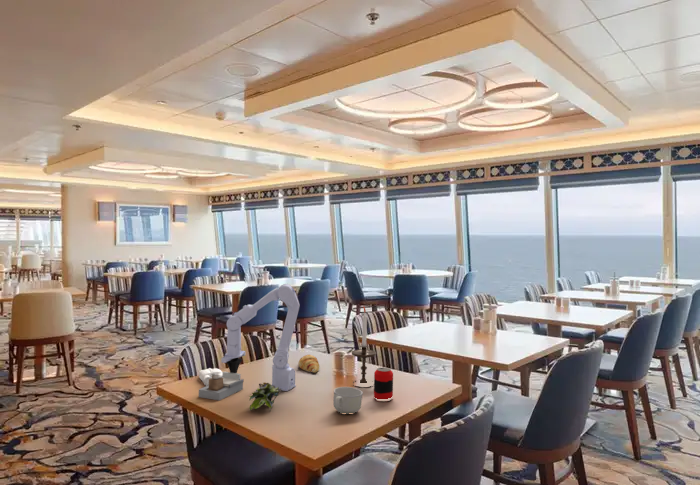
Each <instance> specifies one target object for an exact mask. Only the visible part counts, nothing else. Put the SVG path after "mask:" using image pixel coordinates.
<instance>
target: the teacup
mask: <svg viewBox="0 0 700 485" xmlns="http://www.w3.org/2000/svg"><path fill="white" fill-rule="evenodd" d="M332 400H333V402H332V403H333V407H334V409H335V410H336V411H337V412H338V413H339V412H340V413H339V414H341V413H346V414H349V413H355V412H356V413H357V412H358V411H360V409H361V406H362V404H363V403H362V401H363V391H362V390H361V389H359V388H358V387H351V386H339V387H336V388H333V399H332ZM356 413H355V414H356Z"/></svg>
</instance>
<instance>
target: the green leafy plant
mask: <svg viewBox="0 0 700 485" xmlns="http://www.w3.org/2000/svg"><path fill="white" fill-rule="evenodd" d="M281 391H282V390H281V389H279V387H277V388H276V387H275V386H274V385H273V386H272V383H269V382H262V383H258V387H257V388H256V389H255V391H253V392H251V395H249V396H248V397H249V400H248V401H251V400H252V399H254V400H253V401H252V403H251V404H250V406H249V408H248V409H249V411H250V412H251V411H253V409H254V410H258V409H259V408H261V407H262V406H264V405H266V406H267V408H270V410H269V412H271V410H272V408H273V405H274V403H275V401H276V398H277V397H278V396H279V394H280V393H281ZM273 397H274V399H273Z"/></svg>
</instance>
